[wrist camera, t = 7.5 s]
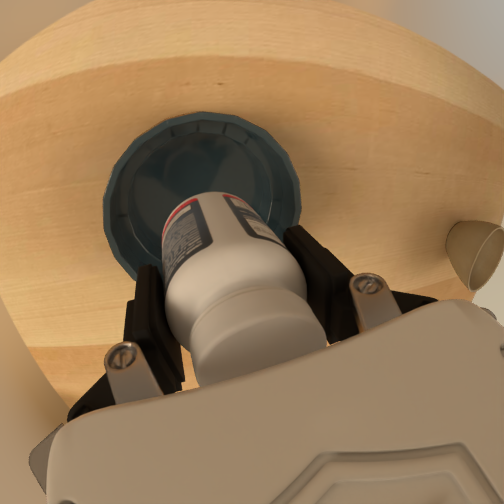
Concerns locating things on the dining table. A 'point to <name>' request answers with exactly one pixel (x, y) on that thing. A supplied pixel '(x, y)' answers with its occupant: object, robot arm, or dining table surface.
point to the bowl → (194, 180)
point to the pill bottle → (233, 290)
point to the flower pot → (475, 251)
